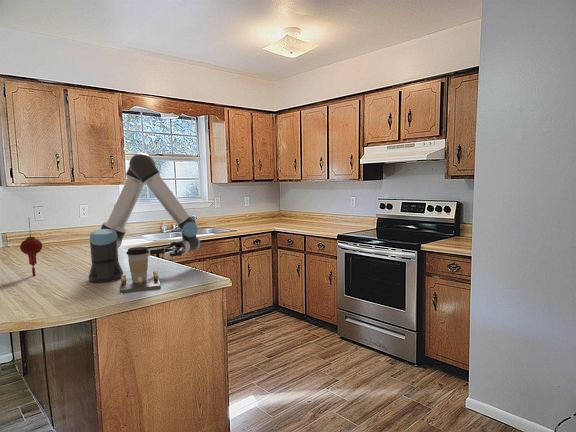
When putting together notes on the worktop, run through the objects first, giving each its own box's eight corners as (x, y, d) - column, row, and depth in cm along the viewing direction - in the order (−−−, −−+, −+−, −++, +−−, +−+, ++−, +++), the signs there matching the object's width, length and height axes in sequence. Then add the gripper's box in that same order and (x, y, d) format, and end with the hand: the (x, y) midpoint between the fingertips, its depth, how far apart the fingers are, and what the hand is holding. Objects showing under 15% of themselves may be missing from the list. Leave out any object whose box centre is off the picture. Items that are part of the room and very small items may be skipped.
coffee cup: (149, 283, 167) (148, 249, 165) (126, 285, 164) (124, 251, 163) (151, 277, 176) (149, 246, 174) (129, 279, 173) (127, 247, 172)
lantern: (19, 278, 188) (13, 218, 185) (28, 274, 197) (22, 216, 194) (40, 277, 189) (34, 217, 187) (48, 273, 199) (43, 216, 196)
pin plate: (121, 282, 175) (120, 270, 175) (157, 278, 181) (157, 266, 181) (119, 293, 157) (119, 280, 156) (160, 288, 163) (159, 276, 162)
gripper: (200, 255, 194) (176, 264, 174) (159, 254, 201) (131, 262, 181) (199, 241, 193) (175, 248, 173) (158, 240, 201) (130, 247, 181)
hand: (152, 255), depth 177 cm, fingers open, 13 cm apart
